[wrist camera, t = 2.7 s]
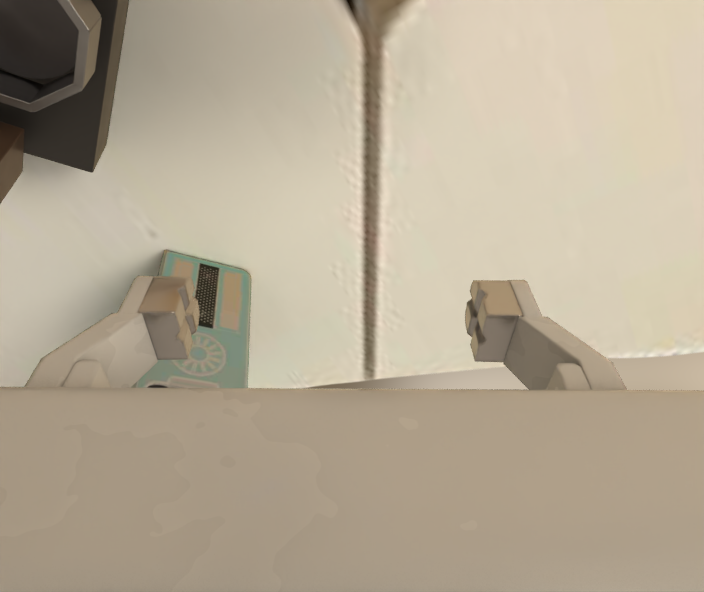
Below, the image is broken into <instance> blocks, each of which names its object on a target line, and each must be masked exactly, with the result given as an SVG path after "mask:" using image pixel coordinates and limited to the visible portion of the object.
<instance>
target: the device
mask: <svg viewBox="0 0 704 592" xmlns="http://www.w3.org/2000/svg"><path fill="white" fill-rule="evenodd" d="M158 276H168V277H190V278H191V279H192V280H193V284H194V287H195V289H194V292H193V295H192V296H194V297H195V298H196V299H197V300H198V305H199V314H200V315H199V324H198V328H197V331H196V332H195V333H194V334H192V335H191V336H192V340H193V344H192V347H191V351H190V354H189V357H188V359H179V360H158V362H157V363H156V364H155V365H154V366H153V367H152V368H151V369H150V370H149V371H148V372H146V373H145V374H144V375H143V376H142V377H141V378H140V379H139V380H138V381H137V382H136V383H135V384H134V385H133V386H132V387H131V388H248V366H249V336H250V306H251V276H250V275H249V274H248V273H247V272H246V271H245V270H242V269H238V268H234V267H230V266H226V265H223V264H219V263H215V262H211V261H207V260H203V259H199V258H195V257H191V256H187V255H183V254H179V253H175V252H171V251H167V250H164V254H163V257H162V261H161V265H160V268H159V272H158Z"/></svg>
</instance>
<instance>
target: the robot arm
mask: <svg viewBox="0 0 704 592" xmlns="http://www.w3.org/2000/svg"><path fill="white" fill-rule="evenodd" d="M194 289H195V287H194V284H193V280H192V279H191V278H190V277H168V276H137V277H136V278H135V279H134V280H133V282H132V284H131V286H130V288H129V290H128V292H127V294H126V296H125V298H124V300H123V302H122V304H121V306H120V308H119V310H118V312H117V313H111V314H110V315H108V316H107V317H105V318H104V319H102V320H101V321H99V322H97V323H96V324H94V325H93V326H91V327H90V328H88V329H86V330H85V331H83V332H82V333H80V334H79V335H77V336H76V337H74V338H72V339H71V340H69V341H68V342H66V343H65V344H63V345H61V346H60V347H58V348H57V349H55V350H54V351H52V352H51V353H49V354H47V355H46V356H44V357H43V358H41V360H40V362H39V363H38V365H37V367H36V368H35V370H34V372H33V373H32V375H31V376H30V378H29V380H28V381H27V383H26V385H25V386H24V387H0V592H704V391H699V390H696V391H695V390H692V391H690V390H689V391H688V390H687V391H686V390H627V389H626V387H625V385H624V383H623V381H622V379H621V377H620V375H619V374H618V372H617V370H616V368H615V366H614V364H613V362H611V361H610V360H608V359H607V358H606V357H604V356H603V355H601V354H600V353H598V352H597V351H596V350H594V349H593V348H591V347H590V346H588V345H587V344H586V343H584V342H583V341H581V340H580V339H578V338H577V337H576V336H574V335H573V334H571V333H570V332H568V331H567V330H565V329H564V328H563V327H561V326H560V325H558V324H557V323H555V322H554V321H553V320H551V319H550V318H548V317H543V316H542V314H541V312H540V310H539V307H538V305H537V303H536V301H535V298H534V296H533V294H532V292H531V289H530V287H529V285H528V283H527V281H525V280H507V281H500V280H473V282H472V284H471V289H470V293H471V297H472V299H471V300H470V301H468V302H467V306H466V311H465V323H466V329H467V333H468V334H469V335H470V336H471V337H472V340H471V344H470V345H471V349H472V352H473V356H474V360H475V361H483V362H504V364H505V366H506V367H507V368H508V369H509V370H510V371H511V372H512V373H513V374H514V375H515V376H516V377H517V378H518V379H519V380H520V381H521V382H522V383H523V384H524V385H525V386H526V387H527V388H528V389H529V390H476V389H472V390H471V389H470V390H469V389H466V390H465V389H279V388H131V387H132V386H133V385H134V384H135V383H136V382H137V381H138V380H139V379H140V378H141V377H142V376H143V375H144V374H145V373H146V372H148V371H149V370H150V369H151V368H152V367H153V366H154V365H155V364H156V363H157V362H158V360H179V359H188V357H189V354H190V351H191V347H192V344H193V340H192V336H191V335H192V334H194V333H195V332H196V331H197V328H198V324H199V315H200V314H199V305H198V300H197V299H196V298H195V297H194V296H192V295H193V292H194Z"/></svg>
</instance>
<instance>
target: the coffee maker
mask: <svg viewBox="0 0 704 592" xmlns="http://www.w3.org/2000/svg"><path fill="white" fill-rule="evenodd" d="M101 20H102V18H101V14H100V13H99V11H98V10H97V8H96V7H95V5H94V4H93V2H92V1H91V0H0V68H2V69H4V70H6V71H9V72H11V73H14V74H16V75H14V74H11V73H9V72H6V71H3V70H0V102H2V103H5V104H8V105H11V106H14V107H17V108H20V109H23V110H26V111H29V112H36V111H39V110H41V109H43V108H45V107H47V106H50V105H52V104H54V103H56V102H59V101H61V100H63V99H65V98H67V97H70V96H72V95H74V94H76V93H78V92H81V91H82V90H83V89H84V87H85V86H86V84H87V83H88V81H89V80H90V78H91V77H92V75H93V74H94V72H95V66H96V59H97V51H98V43H99V36H100V28H101ZM74 66H75V69H74V71H73V72H71V73H69V74H67V75H64V76H62V77H60V78H58V79H56V80H54V81H51V82H49V83H47V84H45V85H43V84H40V83H38V82H35V81H32V80H29V79H26V78H23V77H28V78H35V79H47V78H53V77H57V76H60V75H63V74H64V73H66V72H68V71H69V70H70V69H72V68H73V67H74ZM17 75H20V76H23V77H20V76H17ZM23 150H24V129H22V128H19V127H16V126H13V125H10V124H6V123H3V122H0V203H1V202H2V200H3V199H4V198H5V196H6V195H7V193H8V192H9V190H10V189H11V187H12V186H13V184H14V183H15V181H16V180H17V178H18V177H19V176H20V174H21V173H22V171H23Z"/></svg>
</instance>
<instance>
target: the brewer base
mask: <svg viewBox="0 0 704 592" xmlns="http://www.w3.org/2000/svg"><path fill="white" fill-rule="evenodd" d="M91 1H92V2H93V4H94V5H95V7H96V8H97V10H98V11H99V13H100V14H101V18H102V20H101V28H100V36H99V43H98V51H97V59H96V66H95V72H94V74H93V75H92V77H91V78H90V80H89V81H88V83H87V84H86V86H85V87H84V89H83V90H82V91H81V92H78V93H76V94H74V95H72V96H70V97H67V98H65V99H63V100H61V101H59V102H56V103H54V104H52V105H50V106H47V107H45V108H43V109H41V110H39V111H36V112H29V111H26V110H23V109H20V108H17V107H14V106H11V105H8V104H5V103H2V102H0V122H3V123H6V124H10V125H13V126H16V127H19V128H22V129H24V150H23V152H24V153H28V154H31V155H34V156H38V157H41V158H44V159H48V160H51V161H55V162H58V163H61V164H65V165H68V166H71V167H75V168H78V169H81V170H85V171H88V172H93V171H94V169H95V167H96V165H97V163H98V161H99V159H100V157H101V154H102V152H103V150H104V148H105V146H106V143H107V137H108V130H109V124H110V118H111V111H112V105H113V99H114V93H115V86H116V80H117V74H118V67H119V61H120V55H121V48H122V42H123V36H124V29H125V23H126V17H127V11H128V4H129V0H91ZM74 69H75V66H74V67H73V68H72V69H70V70H69V71H68V72H66V73H64V74H63V75H60V76H57V77H53V78H47V79H35V78H28V77H23V76H20V75H17V76H20V77H23V78H26V79H29V80H32V81H35V82H38V83H40V84H43V85H45V84H47V83H49V82H51V81H54V80H56V79H58V78H60V77H62V76H64V75H67V74H69V73H71V72H73V71H74ZM0 70H3V71H6V70H4V69H2V68H0ZM6 72H9V71H6ZM9 73H11V72H9ZM11 74H14V73H11ZM14 75H16V74H14Z"/></svg>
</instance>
